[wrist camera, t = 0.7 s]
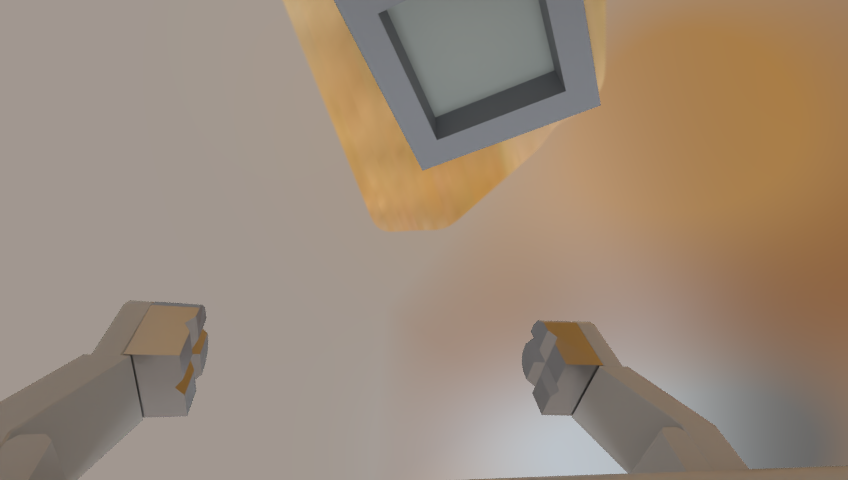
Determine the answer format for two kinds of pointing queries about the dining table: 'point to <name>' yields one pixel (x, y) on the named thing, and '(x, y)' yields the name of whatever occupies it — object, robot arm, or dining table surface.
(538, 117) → the gray square tray
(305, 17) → the dining table surface
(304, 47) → the dining table surface
